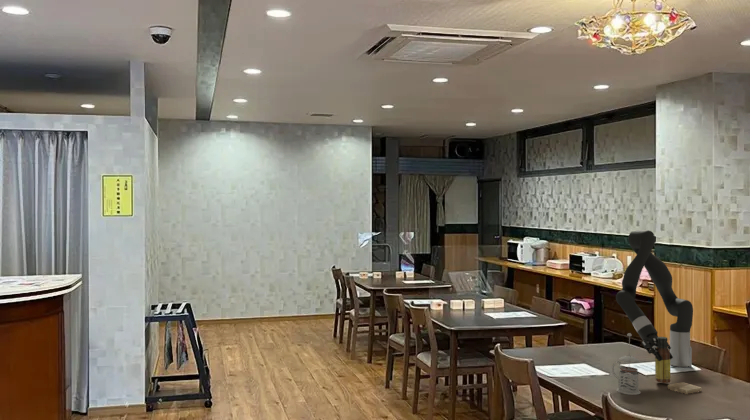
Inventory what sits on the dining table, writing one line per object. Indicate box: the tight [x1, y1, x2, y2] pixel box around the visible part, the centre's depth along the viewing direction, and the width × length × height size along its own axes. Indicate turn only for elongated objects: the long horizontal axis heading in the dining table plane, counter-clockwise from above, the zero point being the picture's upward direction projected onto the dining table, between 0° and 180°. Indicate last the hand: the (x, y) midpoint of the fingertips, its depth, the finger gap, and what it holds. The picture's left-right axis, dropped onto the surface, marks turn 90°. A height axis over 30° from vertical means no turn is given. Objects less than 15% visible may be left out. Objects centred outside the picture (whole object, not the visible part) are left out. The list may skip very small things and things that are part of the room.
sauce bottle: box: [654, 336, 671, 384], centre depth 288 cm, size 7×6×20 cm
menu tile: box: [667, 381, 703, 395], centre depth 279 cm, size 2×10×9 cm
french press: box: [611, 332, 642, 396], centre depth 276 cm, size 10×12×25 cm
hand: (666, 359), depth 287 cm, fingers closed on sauce bottle, 6 cm apart
